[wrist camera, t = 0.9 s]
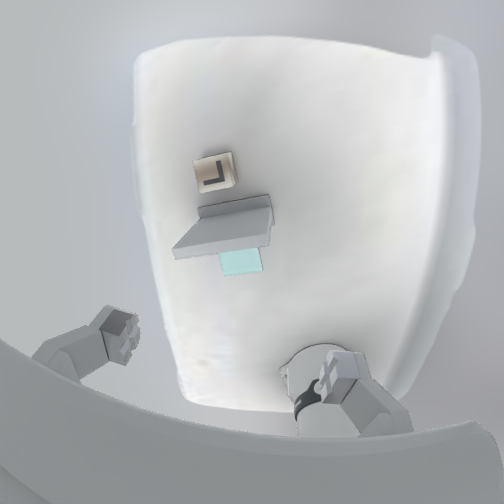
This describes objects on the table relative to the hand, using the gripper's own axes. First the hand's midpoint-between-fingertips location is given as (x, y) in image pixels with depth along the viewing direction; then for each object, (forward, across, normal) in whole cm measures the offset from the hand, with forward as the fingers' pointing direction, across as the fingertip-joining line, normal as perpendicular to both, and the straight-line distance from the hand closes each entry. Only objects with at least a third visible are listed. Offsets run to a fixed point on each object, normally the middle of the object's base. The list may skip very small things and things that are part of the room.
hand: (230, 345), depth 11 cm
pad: (+35, +2, +13) cm, 38 cm away
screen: (+36, +4, +6) cm, 36 cm away
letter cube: (+36, +8, -1) cm, 37 cm away
